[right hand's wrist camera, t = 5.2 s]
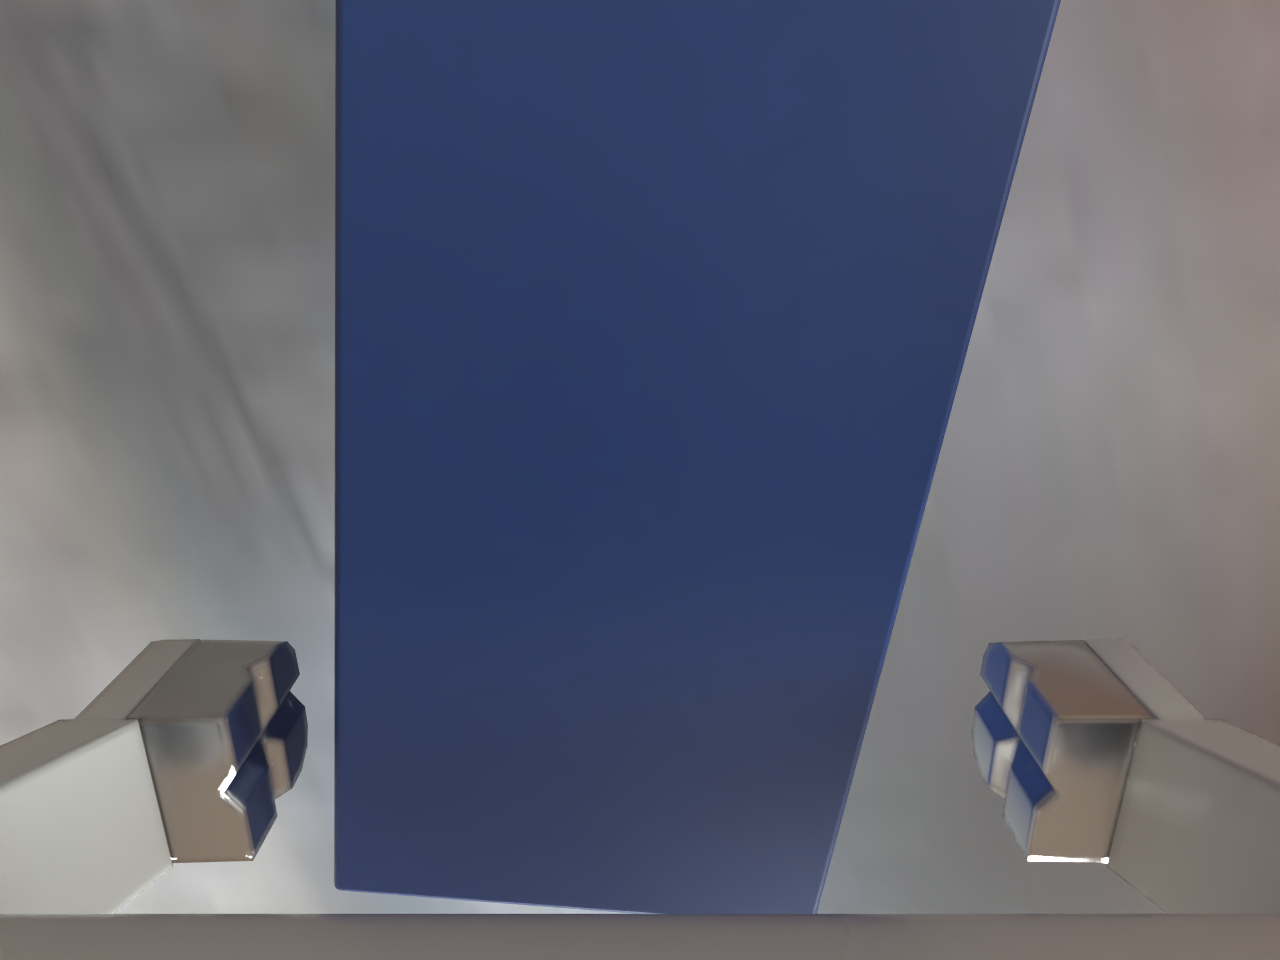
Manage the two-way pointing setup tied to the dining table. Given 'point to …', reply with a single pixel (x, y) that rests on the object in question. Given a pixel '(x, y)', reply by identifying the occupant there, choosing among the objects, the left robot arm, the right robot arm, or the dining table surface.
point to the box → (642, 423)
